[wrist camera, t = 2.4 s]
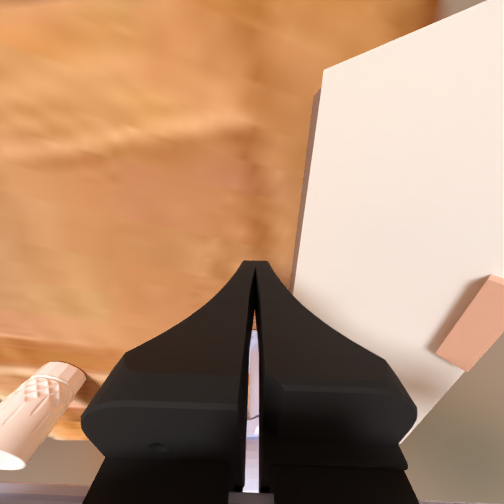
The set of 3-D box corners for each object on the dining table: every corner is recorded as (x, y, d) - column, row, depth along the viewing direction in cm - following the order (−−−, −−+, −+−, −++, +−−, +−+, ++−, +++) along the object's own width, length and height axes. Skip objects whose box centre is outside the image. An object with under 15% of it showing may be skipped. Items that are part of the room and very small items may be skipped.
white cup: (56, 386, 33) (-19, 469, 24) (30, 358, 30) (-68, 444, 21) (98, 386, 33) (38, 470, 24) (77, 358, 29) (-3, 445, 20)
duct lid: (405, 434, 12) (395, 451, 11) (293, 327, 19) (283, 333, 18) (917, -156, 3) (1036, -262, 2) (333, 73, 10) (316, 66, 9)
